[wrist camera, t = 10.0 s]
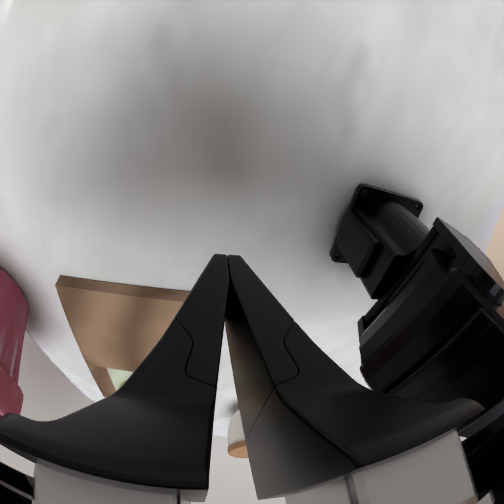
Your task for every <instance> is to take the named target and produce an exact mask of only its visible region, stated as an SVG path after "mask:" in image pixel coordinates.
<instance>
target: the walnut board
mask: <svg viewBox="0 0 504 504" xmlns="http://www.w3.org/2000/svg"><path fill="white" fill-rule="evenodd" d="M55 286H56V289H57V292H58V295H59V298H60V301H61V304H62V306H63V309H64V312H65V315H66V317H67V320H68V322H69V325H70V327H71V330H72V332H73V335H74V337H75V339H76V342H77V344H78V346H79V349H80V351H81V353H82V355H83V357H84V359H85V361H86V364H87V366H88V368H89V370H90V372H91V374H92V376H93V378H94V379H95V381H96V383H97V385H98V387H99V389H100V391H101V392H102V394H103V396H104V397H108V396H110V395H112V394H113V393H114V392H116V391H117V390H118V389H119V388H120V384H121V383H122V382H124V381H127V379H128V378H129V377H130V376H131V374H132V373H133V372H134V371H135V370H136V368H137V367H138V366H139V365H140V364H141V362H142V361H143V360H144V359H145V358H146V356H147V355H148V354H149V353H150V352H151V350H152V349H153V348H154V346H155V345H156V344H157V343H158V341H159V340H160V339H161V337H162V336H163V334H164V333H165V331H166V330H167V328H168V327H169V325H170V323H171V322H172V320H173V319H174V317H175V315H176V314H177V312H178V310H179V309H180V307H181V306H182V304H183V302H184V301H185V299H186V298H187V296H188V294H189V293H190V291H181V290H171V289H161V288H152V287H143V286H134V285H126V284H118V283H110V282H102V281H95V280H88V279H81V278H74V277H67V276H61V275H60V277H59V279H58V281H57V283H56V284H55Z"/></svg>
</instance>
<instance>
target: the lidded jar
mask: <svg viewBox="0 0 504 504" xmlns="http://www.w3.org/2000/svg"><path fill="white" fill-rule="evenodd" d="M245 441H246V440H245V437H244V431H243V426H242V421H241V416H240V410H239V409H238V410H237V411H236V412H235V414H234V415H233V417H232V418H231V420H230V423H229V427H228V454H229V455H231V456H233V457H238V458H249V457H248V452H247V447H246V442H245Z"/></svg>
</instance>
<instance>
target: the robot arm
mask: <svg viewBox="0 0 504 504" xmlns="http://www.w3.org/2000/svg"><path fill="white" fill-rule="evenodd" d="M363 190H365V192H364V193H363V194H362V191H363ZM422 208H423V204H422V202H420V201H419V200H417V199H414V198H411V197H408V196H404V195H401V194H398V193H395V192H391V191H388V190H384V189H381V188H377V187H374V186H370V185H366V184H361V185H359V186H358V187H357V189H356V192H355V194H354V197H353V199H352V202H351V205H350V207H349V210H348V211H347V212H346V214H345V217H344V219H343V222H342V224H341V227H340V229H339V231H338V234H337V236H336V239H335V243H334V246H333V248H332V250H331V253H330V257H331V259H332V261H334V262H340V263H348V264H349V266H350V267H351V269H352V271H353V273H354V274H355V276H356V277H357V278H360V279H361V281H362V283H363V285H364V286H365V288H366V290H367V292H368V294H369V295H370V297H371V299H378V301H377V302H376V303H375V304H374V305H373V307H372V308H371V309H370V310H369V311H368V312H367V314H366V315H365V316H362V317H361V318H360V320H359V321H358V332H359V342H360V347H359V350H360V354H361V366H360V371H361V374H362V376H363V378H364V380H365V382H366V383H367V385H368V386H369V388H370V389H371V390H370V389H368V388H366V387H364V386H362V385H360V384H359V383H357V382H356V381H355V380H354V379H352V378H351V377H350V376H349V375H348V374H347V373H346V372H345V371H344V370H343V369H341V368H340V367H339V366H338V365H337V364H336V363H335V362H334V361H333V360H332V359H331V358H330V357H328V356H327V355H326V354H325V353H324V352H323V351H322V350H321V349H320V348H319V347H318V346H317V345H316V344H315V343H314V342H313V341H312V340H311V339H310V338H309V337H308V335H307V334H306V333H305V332H304V331H303V330H302V329H301V328H300V326H299V325H298V324H297V323H296V322H294V319H293V318H292V317H291V316H290V315H289V313H288V312H287V311H286V310H285V309H284V308H283V306H282V305H281V304H280V303H279V302H278V300H277V299H276V298H275V297H274V296H273V294H272V293H271V292H270V291H269V290H268V288H267V287H266V286H265V285H264V284H263V282H262V281H261V280H260V279H259V278H258V276H257V275H256V274H255V273H254V272H253V270H252V269H251V268H250V267H249V266H248V264H247V263H246V262H245V261H244V260H243V258H242V257H241V256H239V255H228V256H226V255H224V254H214V255H213V257H212V258H211V260H210V261H209V263H208V264H207V266H206V268H205V269H204V271H203V272H202V274H201V275H200V277H199V279H198V280H197V282H196V283H195V285H194V286H193V288H192V290H191V291H190V293H189V294H188V296H187V298H186V299H185V301H184V302H183V304H182V306H181V307H180V309H179V310H178V312H177V314H176V315H175V317H174V319H173V320H172V322H171V323H170V325H169V327H168V328H167V330H166V331H165V333H164V334H163V336H162V337H161V339H160V340H159V341H158V343H157V344H156V345H155V346H154V348H153V349H152V350H151V352H150V353H149V354H148V355H147V356H146V358H145V359H144V360H143V361H142V362H141V364H140V365H139V366H138V367H137V368H136V370H135V371H134V372H133V373H132V374H131V376H130V377H129V378H128V379H127V381H126V382H125V383H124V384H123V385H122V386H121V387H120V388H119V389H118V390H117V391H116V392H114V393H113V394H112V395H110V396H108V397H106V398H104V399H102V400H100V401H98V402H96V403H94V404H92V405H89V406H87V407H85V408H83V409H80V410H78V411H76V412H74V413H72V414H69V415H67V416H65V417H62V418H60V419H57V420H53V421H35V420H31V419H29V418H26V417H23V416H21V415H18V414H15V413H6V414H4V415H3V416H1V417H0V444H1V445H3V446H4V447H6V448H8V449H10V450H11V451H13V452H15V453H17V454H18V455H20V456H22V457H24V458H26V459H28V460H30V461H32V462H34V463H35V469H34V478H33V477H30V476H28V475H26V474H24V473H22V472H20V471H18V470H16V469H13V468H12V467H10V466H8V465H6V464H4V463H2V462H0V504H190V502H205V499H206V496H207V492H208V489H209V470H210V458H211V444H212V433H213V422H214V411H215V401H216V391H217V382H218V373H219V364H220V356H221V347H222V339H223V330H224V322H225V326H226V333H227V339H228V346H229V352H230V358H231V364H232V370H233V376H234V382H235V388H236V394H237V399H238V405H239V410H240V416H241V421H242V426H243V431H244V437H245V440H246V441H245V442H246V447H247V452H248V457H249V462H250V466H251V471H252V476H253V480H254V484H255V489H256V494H257V498H258V500H261V499H270V498H277V497H285V499H286V504H504V281H503V280H502V278H501V276H500V275H499V273H498V272H497V270H496V268H495V267H494V265H493V264H492V262H491V261H490V260H489V258H488V257H487V256H486V255H485V254H484V253H483V252H482V251H481V250H480V249H479V248H478V247H477V246H476V245H475V244H474V243H473V242H472V241H471V240H470V239H468V238H467V237H466V236H464V235H463V234H462V233H460V232H459V231H457V230H456V229H455V228H453V227H452V226H450V225H449V224H447V223H446V222H444V221H443V220H441V219H440V218H438V217H437V218H436V219H435V221H434V223H433V227H432V228H431V230H429V229H428V228H427V227H426V226H425V225H424V224H423V223H422V222H421V221H420V220H419V219H418V217H419V215H420V213H421V211H422ZM337 254H338V255H337ZM336 255H337V256H336ZM459 436H462V437H466V438H467V439H465V440H464V441H462V442H461V440H460V438H459Z"/></svg>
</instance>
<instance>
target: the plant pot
mask: <svg viewBox="0 0 504 504" xmlns="http://www.w3.org/2000/svg"><path fill="white" fill-rule="evenodd" d="M27 317H28V304H27V301H26V298H25V296H24V294H23V292H22V291H21V289H20V288H19V286H18V285H17V284H16V282H15V281H14V280H13V279H12V278H11V277H10V276H9V275H8V274H7V273H6V272H5V271H4V270H3V269H2V268H0V417H1V416H3V415H4V414H6V413H15V414H18V415H20V412H21V408H22V402H23V393H22V390H21V389H20V387H19V386H18V377H19V368H20V359H21V353H22V345H23V340H24V333H25V327H26V322H27Z"/></svg>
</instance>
